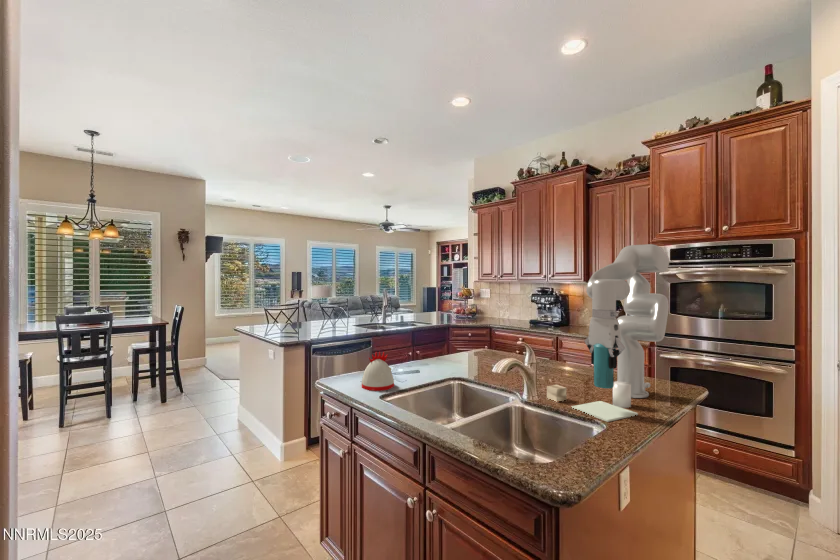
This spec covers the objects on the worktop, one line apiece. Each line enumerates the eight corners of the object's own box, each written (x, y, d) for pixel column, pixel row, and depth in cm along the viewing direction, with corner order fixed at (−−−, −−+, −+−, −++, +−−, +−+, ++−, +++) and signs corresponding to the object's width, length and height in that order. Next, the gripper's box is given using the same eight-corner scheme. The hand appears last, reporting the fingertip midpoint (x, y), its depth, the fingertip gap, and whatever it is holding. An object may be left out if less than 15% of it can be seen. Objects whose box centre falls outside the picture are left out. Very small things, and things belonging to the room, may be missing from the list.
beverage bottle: (616, 393, 130) (616, 334, 130) (595, 392, 132) (595, 334, 132) (610, 388, 137) (611, 332, 137) (591, 387, 138) (591, 331, 138)
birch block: (556, 397, 151) (556, 384, 151) (566, 400, 146) (566, 387, 146) (546, 399, 149) (546, 386, 149) (556, 402, 144) (556, 389, 144)
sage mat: (600, 402, 144) (600, 400, 144) (638, 415, 131) (638, 413, 131) (571, 407, 138) (571, 406, 138) (607, 421, 124) (607, 420, 124)
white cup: (619, 401, 145) (619, 380, 145) (634, 406, 140) (634, 384, 140) (609, 403, 143) (609, 382, 143) (623, 408, 137) (623, 386, 137)
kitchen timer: (396, 389, 161) (396, 353, 161) (363, 391, 158) (363, 355, 158) (391, 381, 174) (391, 348, 174) (360, 383, 171) (360, 349, 171)
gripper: (634, 316, 128) (633, 370, 128) (590, 312, 144) (590, 360, 144) (618, 317, 125) (618, 372, 125) (576, 313, 141) (576, 362, 140)
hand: (603, 365), depth 134 cm, fingers closed on beverage bottle, 6 cm apart
